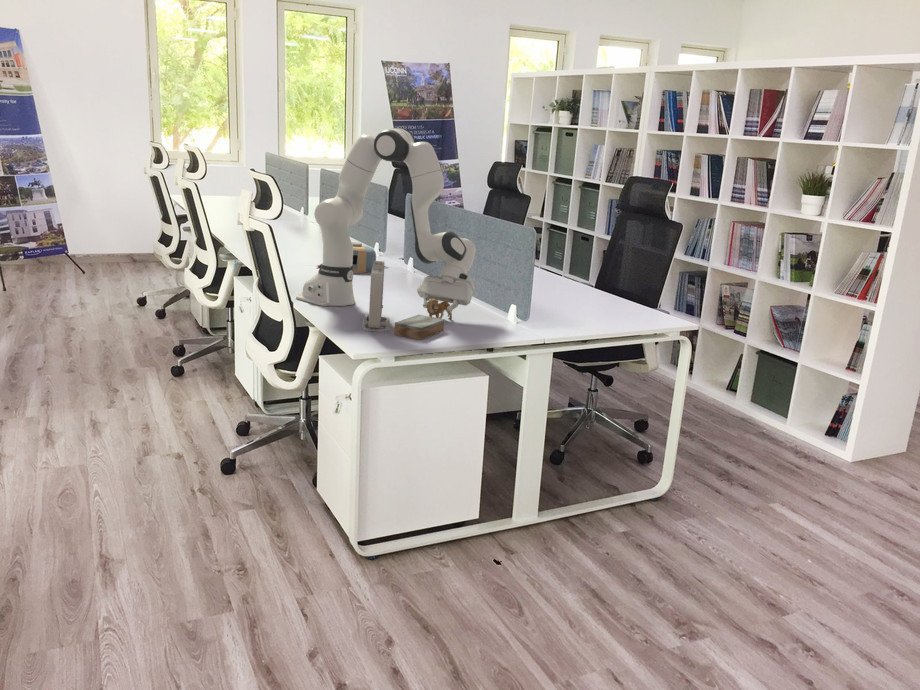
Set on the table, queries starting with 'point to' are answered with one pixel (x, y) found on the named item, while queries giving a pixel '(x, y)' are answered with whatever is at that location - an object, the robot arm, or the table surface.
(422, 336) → the plinth
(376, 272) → the network device
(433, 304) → the lion figurine
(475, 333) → the table surface
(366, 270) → the alarm clock
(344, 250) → the robot arm
